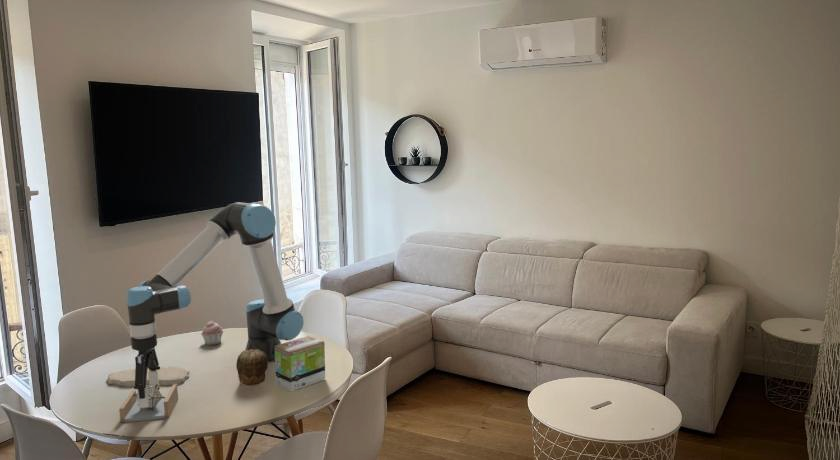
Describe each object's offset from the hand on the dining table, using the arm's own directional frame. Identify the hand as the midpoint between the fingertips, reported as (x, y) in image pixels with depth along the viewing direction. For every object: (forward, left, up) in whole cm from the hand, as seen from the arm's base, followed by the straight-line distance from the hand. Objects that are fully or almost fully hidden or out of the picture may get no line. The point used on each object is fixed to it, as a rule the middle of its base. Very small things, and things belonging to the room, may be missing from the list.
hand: (149, 398), depth 202 cm
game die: (0, 0, -3) cm, 3 cm away
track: (0, 0, -4) cm, 4 cm away
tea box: (-48, -13, -4) cm, 50 cm away
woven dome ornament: (-31, -17, -4) cm, 36 cm away
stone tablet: (+7, -30, -5) cm, 31 cm away
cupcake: (-10, -65, -4) cm, 66 cm away
